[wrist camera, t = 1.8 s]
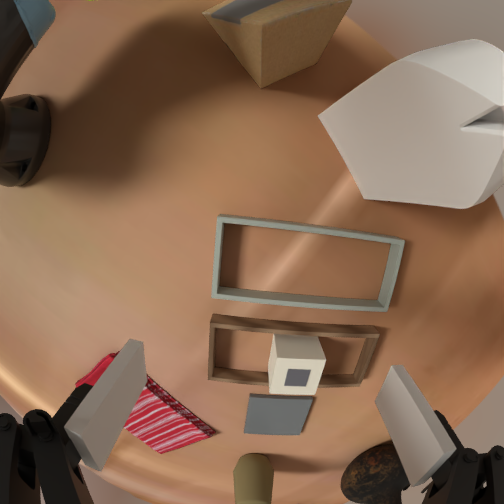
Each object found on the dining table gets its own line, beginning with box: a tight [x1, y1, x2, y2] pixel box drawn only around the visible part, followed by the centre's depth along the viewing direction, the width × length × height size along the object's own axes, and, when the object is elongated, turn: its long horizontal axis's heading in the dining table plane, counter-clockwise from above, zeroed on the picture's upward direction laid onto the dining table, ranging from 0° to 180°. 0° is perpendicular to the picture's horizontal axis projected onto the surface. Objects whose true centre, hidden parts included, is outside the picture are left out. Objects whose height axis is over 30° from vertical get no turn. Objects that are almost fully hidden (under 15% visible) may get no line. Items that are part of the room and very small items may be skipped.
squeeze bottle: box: [233, 454, 274, 504], centre depth 35 cm, size 8×8×18 cm
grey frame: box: [211, 214, 405, 312], centre depth 32 cm, size 23×10×2 cm, turn 84°
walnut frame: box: [208, 314, 380, 388], centre depth 35 cm, size 23×10×2 cm, turn 84°
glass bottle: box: [341, 445, 410, 504], centre depth 31 cm, size 18×18×28 cm
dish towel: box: [75, 351, 216, 454], centre depth 40 cm, size 17×24×3 cm
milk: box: [318, 39, 504, 209], centre depth 17 cm, size 12×12×26 cm
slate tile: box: [244, 394, 313, 435], centre depth 40 cm, size 10×10×1 cm
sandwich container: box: [202, 0, 352, 89], centre depth 19 cm, size 9×15×15 cm, turn 31°
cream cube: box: [268, 334, 326, 395], centre depth 34 cm, size 6×6×6 cm
